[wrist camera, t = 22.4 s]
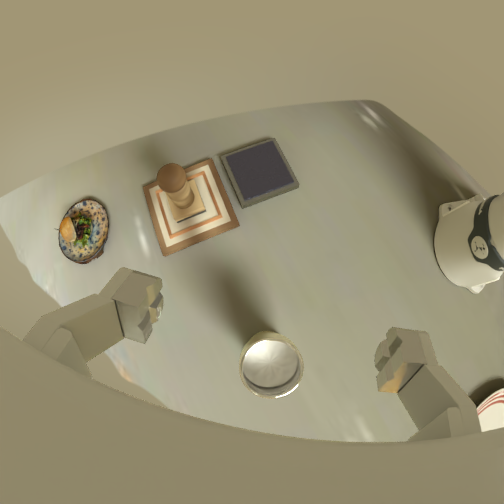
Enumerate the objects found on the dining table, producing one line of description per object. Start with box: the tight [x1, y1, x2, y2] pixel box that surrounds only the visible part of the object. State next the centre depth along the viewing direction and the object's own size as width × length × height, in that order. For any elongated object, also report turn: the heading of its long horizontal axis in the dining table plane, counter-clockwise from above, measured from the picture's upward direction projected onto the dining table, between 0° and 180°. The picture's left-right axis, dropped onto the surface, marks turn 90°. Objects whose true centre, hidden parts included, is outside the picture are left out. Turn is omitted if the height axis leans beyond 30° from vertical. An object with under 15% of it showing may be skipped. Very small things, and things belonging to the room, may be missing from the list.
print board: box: [143, 158, 240, 256], centre depth 46 cm, size 13×13×1 cm
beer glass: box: [239, 331, 304, 399], centre depth 35 cm, size 7×7×15 cm
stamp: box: [157, 163, 206, 223], centre depth 40 cm, size 5×5×12 cm
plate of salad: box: [56, 199, 109, 264], centre depth 43 cm, size 12×12×8 cm
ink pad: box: [221, 138, 299, 209], centre depth 47 cm, size 10×10×2 cm
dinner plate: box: [476, 388, 504, 432], centre depth 34 cm, size 28×27×3 cm
